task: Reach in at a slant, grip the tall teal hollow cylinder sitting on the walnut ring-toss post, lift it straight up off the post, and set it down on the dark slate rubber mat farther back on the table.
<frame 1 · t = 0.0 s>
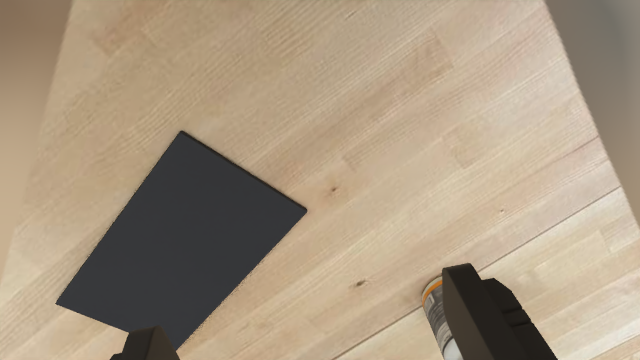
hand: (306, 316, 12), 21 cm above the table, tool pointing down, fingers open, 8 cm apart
pill bottle: (446, 290, 43), on the table
mat: (178, 256, 37), on the table
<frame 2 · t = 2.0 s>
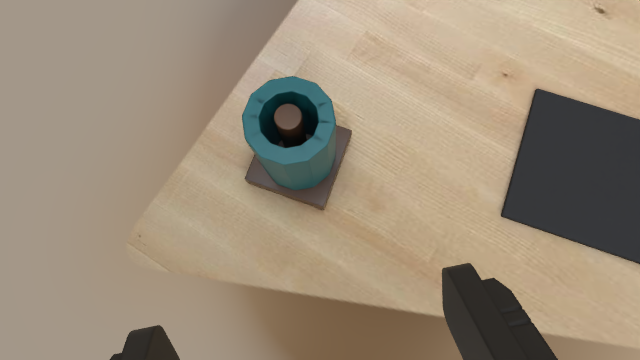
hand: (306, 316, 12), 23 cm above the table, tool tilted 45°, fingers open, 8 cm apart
teal hollow cylinder: (298, 154, 35), point 1 cm above the table, touching ring toss
ring toss: (300, 159, 37), on the table
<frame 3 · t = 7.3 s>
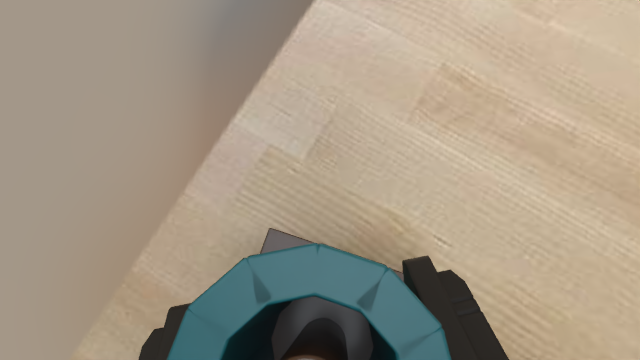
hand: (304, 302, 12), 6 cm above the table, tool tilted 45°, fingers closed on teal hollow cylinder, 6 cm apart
teal hollow cylinder: (322, 342, 16), point 2 cm above the table, touching gripper, ring toss
ring toss: (323, 337, 18), on the table
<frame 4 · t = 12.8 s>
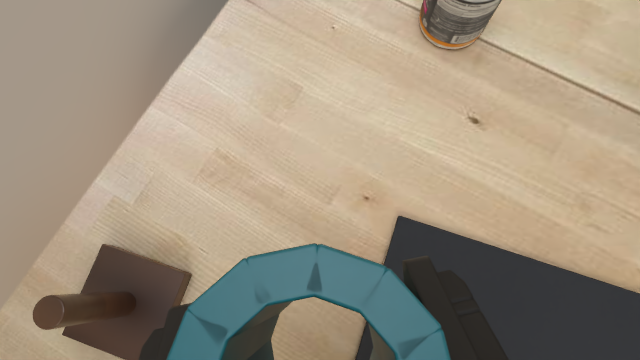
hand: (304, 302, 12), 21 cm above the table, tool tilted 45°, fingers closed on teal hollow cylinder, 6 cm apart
teal hollow cylinder: (321, 342, 16), point 16 cm above the table, touching gripper
pill bottle: (449, 25, 37), on the table
mat: (512, 336, 31), on the table
ring toss: (133, 302, 33), on the table
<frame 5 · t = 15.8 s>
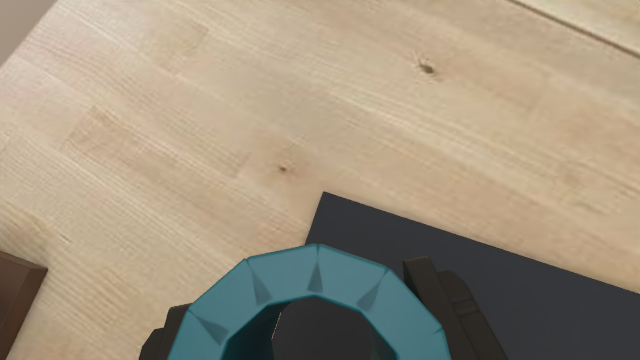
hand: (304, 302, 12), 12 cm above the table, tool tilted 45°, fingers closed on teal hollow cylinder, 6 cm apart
teal hollow cylinder: (322, 342, 16), point 8 cm above the table, touching gripper
mat: (470, 354, 23), on the table
when the fingers open (5 cm above the table, at t = 18.4 s): teal hollow cylinder stays where it is, resting on mat.
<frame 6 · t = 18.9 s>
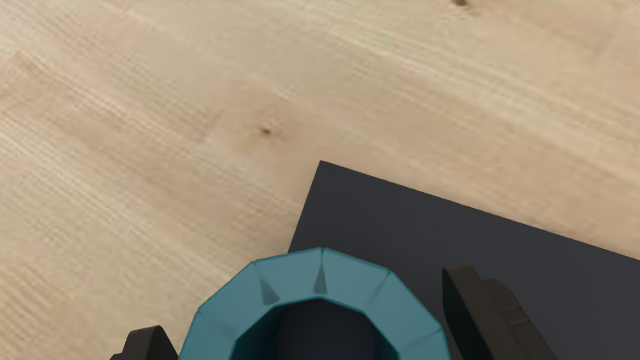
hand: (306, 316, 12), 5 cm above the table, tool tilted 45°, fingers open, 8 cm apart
teal hollow cylinder: (325, 342, 16), resting on mat
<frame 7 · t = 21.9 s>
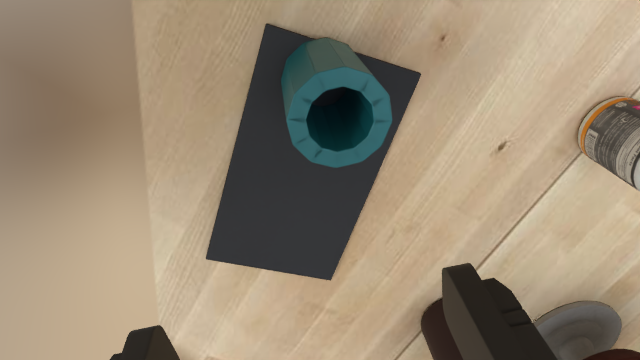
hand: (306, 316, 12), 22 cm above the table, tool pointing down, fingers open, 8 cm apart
teal hollow cylinder: (322, 80, 31), resting on mat
pill bottle: (604, 125, 36), on the table
mat: (303, 172, 35), on the table
mate gourd: (567, 340, 51), on the table
wine bottle: (450, 315, 46), on the table
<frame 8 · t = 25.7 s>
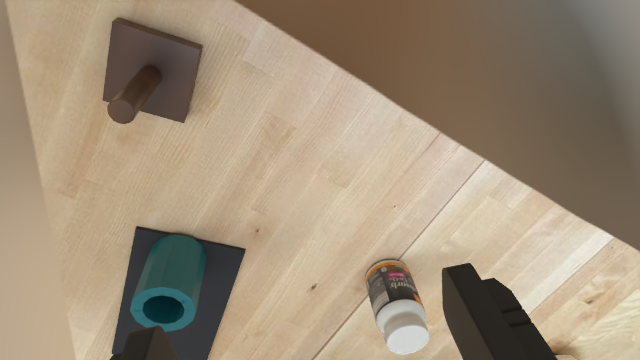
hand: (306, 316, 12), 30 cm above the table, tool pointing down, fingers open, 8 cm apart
teal hollow cylinder: (178, 255, 47), resting on mat
pill bottle: (385, 273, 53), on the table
mat: (175, 303, 52), on the table
ring toss: (154, 70, 37), on the table
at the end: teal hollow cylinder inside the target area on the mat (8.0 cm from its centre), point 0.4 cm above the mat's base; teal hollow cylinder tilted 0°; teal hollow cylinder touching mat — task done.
